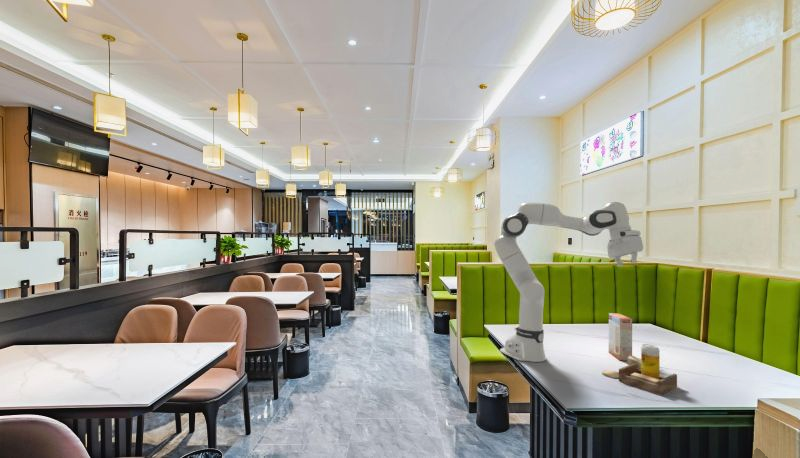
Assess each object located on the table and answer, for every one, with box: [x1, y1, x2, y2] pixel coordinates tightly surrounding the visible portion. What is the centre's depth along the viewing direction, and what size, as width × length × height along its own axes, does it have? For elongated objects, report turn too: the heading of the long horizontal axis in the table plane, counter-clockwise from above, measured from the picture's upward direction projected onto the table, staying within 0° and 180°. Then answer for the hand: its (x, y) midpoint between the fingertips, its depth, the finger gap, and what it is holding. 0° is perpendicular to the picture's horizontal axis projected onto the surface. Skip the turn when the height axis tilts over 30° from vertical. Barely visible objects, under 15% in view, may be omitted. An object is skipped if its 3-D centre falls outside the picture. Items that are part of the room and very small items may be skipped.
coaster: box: [601, 369, 619, 380], centre depth 149 cm, size 8×8×1 cm
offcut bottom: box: [631, 373, 659, 385], centre depth 137 cm, size 9×4×4 cm, turn 34°
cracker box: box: [608, 312, 633, 362], centre depth 174 cm, size 14×6×21 cm, turn 168°
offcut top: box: [626, 354, 641, 370], centre depth 157 cm, size 6×4×3 cm
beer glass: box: [640, 343, 661, 380], centre depth 141 cm, size 6×6×15 cm
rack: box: [618, 363, 678, 396], centre depth 140 cm, size 15×14×5 cm
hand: (627, 264), depth 158 cm, fingers open, 8 cm apart
